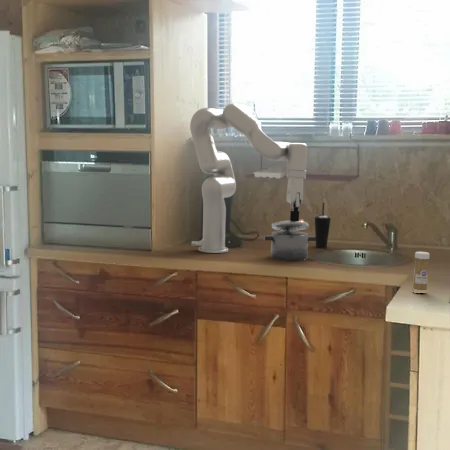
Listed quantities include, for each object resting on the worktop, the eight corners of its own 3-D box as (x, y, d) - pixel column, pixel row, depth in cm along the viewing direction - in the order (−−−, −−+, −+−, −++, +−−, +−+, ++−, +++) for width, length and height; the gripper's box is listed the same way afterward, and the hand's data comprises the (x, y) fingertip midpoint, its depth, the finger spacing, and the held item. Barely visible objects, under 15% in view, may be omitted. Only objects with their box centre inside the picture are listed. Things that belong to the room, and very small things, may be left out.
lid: (275, 223, 278) (274, 215, 279) (269, 230, 293) (268, 223, 294) (312, 223, 280) (312, 216, 280) (304, 231, 294) (304, 223, 295)
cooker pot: (266, 260, 279) (267, 235, 278) (260, 253, 295) (261, 229, 294) (318, 261, 281) (319, 236, 280) (309, 254, 297) (310, 230, 296)
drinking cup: (329, 245, 321) (331, 202, 318) (330, 248, 313) (332, 204, 311) (312, 245, 322) (314, 201, 319) (312, 247, 314) (315, 203, 312)
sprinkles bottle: (418, 294, 227) (421, 253, 225) (409, 291, 231) (412, 251, 229) (429, 293, 229) (432, 253, 227) (420, 290, 233) (423, 250, 231)
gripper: (283, 173, 282) (281, 218, 285) (290, 175, 268) (288, 223, 270) (301, 173, 283) (300, 218, 286) (309, 176, 268) (307, 223, 271)
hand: (294, 220), depth 278 cm, fingers closed
